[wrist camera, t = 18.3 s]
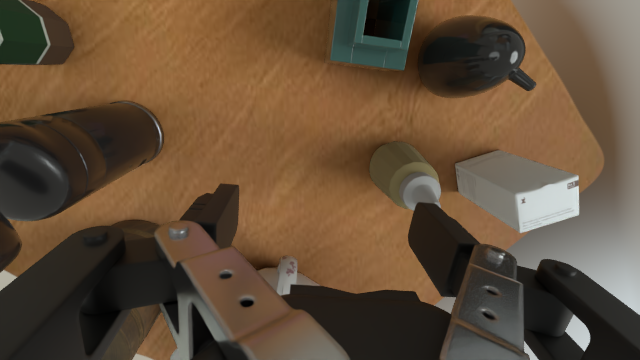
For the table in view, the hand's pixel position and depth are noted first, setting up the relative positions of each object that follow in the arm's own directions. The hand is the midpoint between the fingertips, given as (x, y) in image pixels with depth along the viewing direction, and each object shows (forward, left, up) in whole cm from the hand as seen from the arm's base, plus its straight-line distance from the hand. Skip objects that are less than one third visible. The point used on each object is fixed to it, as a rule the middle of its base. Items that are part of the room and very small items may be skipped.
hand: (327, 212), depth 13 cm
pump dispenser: (+19, +10, -34) cm, 40 cm away
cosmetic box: (+30, -6, -34) cm, 46 cm away
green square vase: (+6, +12, -34) cm, 37 cm away
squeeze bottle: (+14, -6, -34) cm, 38 cm away
